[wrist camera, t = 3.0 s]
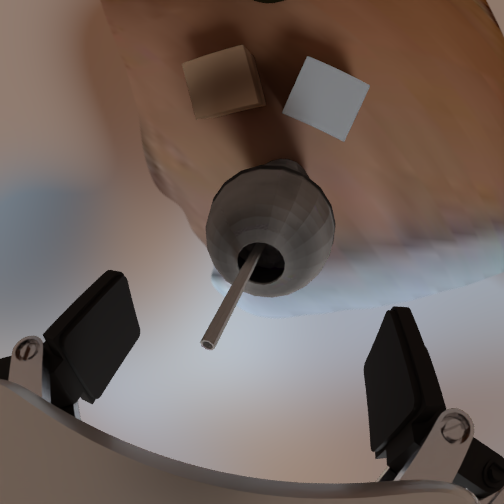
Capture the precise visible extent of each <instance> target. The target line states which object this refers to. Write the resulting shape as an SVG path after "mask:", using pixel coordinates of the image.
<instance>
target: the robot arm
mask: <svg viewBox="0 0 504 504" xmlns="http://www.w3.org/2000/svg"><path fill="white" fill-rule="evenodd" d="M43 336H44V338H45V340H46V341H45V342H44V343H43V342H42V340H41V339H40V338H39V337H37V336H28V337H25V338H23V339H21V340H20V341H19V342H18V343H17V344H16V345H15V347H14V348H13V351H12V356H9V357H5V358H2V359H0V504H504V458H503V457H502V456H500V455H499V454H497V453H496V452H495V451H493V450H491V449H490V448H489V447H487V446H486V445H484V444H482V443H481V442H480V441H478V440H477V439H475V438H474V437H473V435H474V424H473V422H472V419H471V418H470V416H469V415H468V414H467V413H465V412H464V411H463V410H460V409H456V408H451V409H447V410H446V406H445V403H444V400H443V396H442V392H441V389H440V386H439V383H438V379H437V376H436V373H435V370H434V367H433V364H432V361H431V359H430V356H429V353H428V350H427V348H426V347H425V345H424V343H423V340H422V337H421V335H420V332H419V330H418V327H417V324H416V322H415V320H414V317H413V315H412V313H411V310H410V308H407V307H393V308H392V309H391V310H388V311H387V312H386V314H385V317H384V319H383V322H382V324H381V327H380V329H379V332H378V334H377V337H376V339H375V341H374V344H373V346H372V348H371V351H370V353H369V355H368V357H367V360H366V362H365V365H364V378H365V386H366V395H367V405H368V416H369V428H370V444H371V450H372V451H373V452H375V456H376V457H375V458H376V459H380V458H387V466H388V467H387V468H386V469H385V470H384V472H383V473H382V474H381V476H380V477H379V478H378V479H377V480H376V481H375V482H370V483H350V484H324V483H323V484H322V483H321V484H320V483H318V484H317V483H297V482H284V481H274V480H266V479H258V478H252V477H245V476H239V475H234V474H229V473H224V472H219V471H215V470H210V469H206V468H202V467H198V466H195V465H191V464H187V463H184V462H180V461H177V460H174V459H170V458H167V457H164V456H162V455H159V454H156V453H153V452H150V451H147V450H145V449H142V448H140V447H137V446H134V445H132V444H130V443H127V442H124V441H122V440H120V439H118V438H116V437H113V436H111V435H109V434H107V433H105V432H103V431H100V430H98V429H96V428H94V427H92V426H90V425H88V424H86V423H85V422H82V421H81V418H80V412H79V405H78V399H79V398H80V397H81V398H82V399H83V400H85V401H87V402H89V403H91V404H93V403H94V401H95V399H98V398H99V397H100V396H101V395H102V393H103V392H104V390H105V389H106V387H107V385H108V384H109V382H110V380H111V379H112V377H113V376H114V374H115V373H116V371H117V370H118V368H119V367H120V365H121V364H122V362H123V361H124V359H125V357H126V356H127V354H128V353H129V351H130V350H131V348H132V347H133V345H134V344H135V342H136V341H137V340H138V338H139V336H140V327H139V324H138V320H137V317H136V313H135V309H134V305H133V302H132V298H131V294H130V289H129V285H128V281H127V278H126V277H125V276H124V274H123V273H122V272H118V271H113V270H108V271H106V272H105V273H104V274H103V275H102V276H101V277H100V278H98V280H96V281H95V282H94V283H93V284H92V285H91V286H90V287H89V288H88V289H87V290H86V291H85V292H84V293H83V294H82V295H81V296H80V297H79V298H78V299H77V300H76V301H75V302H74V303H73V304H72V305H71V306H70V307H69V308H68V309H67V310H66V311H65V312H64V313H63V314H62V315H61V316H60V317H59V318H58V319H57V320H56V321H55V322H54V323H53V324H52V325H51V326H50V327H49V328H48V329H47V331H46V332H45V333H44V334H43Z"/></svg>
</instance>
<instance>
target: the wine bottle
mask: <svg viewBox="0 0 504 504" xmlns="http://www.w3.org/2000/svg"><path fill="white" fill-rule="evenodd" d="M254 1H257V2H262V3H275V2H280V1H284V0H254Z"/></svg>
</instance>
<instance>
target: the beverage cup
mask: <svg viewBox="0 0 504 504" xmlns="http://www.w3.org/2000/svg"><path fill="white" fill-rule="evenodd" d="M334 232H335V219H334V215H333V210H332V206H331V204H330V202H329V200H328V199H327V197H326V196H325V194H324V192H323V191H322V189H321V188H320V187H319V186H318V185H317V184H316V183H314V182H313V181H312V180H311V179H310V178H309V176H308V175H307V173H306V172H305V170H304V169H303V168H302V167H301V166H300V165H299V164H298V163H296V162H295V161H292V160H289V159H278V160H274V161H270V162H269V163H267V164H265V165H260V166H256V167H253V168H249V169H246V170H242V171H240V172H239V173H237V174H236V175H234V176H233V177H232V178H230V179H229V180H227V181H226V182H225V183H224V184H223V185H222V187H221V188H220V190H219V191H218V193H217V194H216V195H215V197H214V199H213V202H212V205H211V209H210V213H209V216H208V220H207V224H206V239H207V249H208V252H209V254H210V257H211V259H212V261H213V264H214V266H215V268H216V269H217V270H218V272H219V273H220V274H221V275H222V276H223V278H224V279H225V280H226V281H227V282H229V283H230V284H232V286H231V288H230V289H229V291H228V293H227V295H226V297H225V298H224V300H223V302H222V304H221V306H220V307H219V309H218V311H217V313H216V315H215V317H214V318H213V320H212V322H211V324H210V325H209V327H208V329H207V331H206V333H205V335H204V336H203V338H202V340H201V346H202V347H204V348H205V349H207V350H213V349H214V348H215V346H216V344H217V342H218V340H219V338H220V336H221V334H222V332H223V330H224V328H225V326H226V324H227V322H228V320H229V318H230V316H231V314H232V312H233V310H234V308H235V306H236V304H237V302H238V300H239V298H240V296H241V294H242V292H246V293H249V294H252V295H254V296H262V297H278V296H284V295H288V294H291V293H293V292H295V291H297V290H299V289H301V288H303V287H305V286H306V285H307V284H308V283H310V282H311V281H312V280H313V279H314V278H315V277H316V276H317V275H318V274H319V273H320V271H321V270H322V268H323V266H324V264H325V263H326V261H327V259H328V257H329V255H330V252H331V247H332V244H333V240H334Z"/></svg>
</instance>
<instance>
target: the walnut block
mask: <svg viewBox="0 0 504 504" xmlns="http://www.w3.org/2000/svg"><path fill="white" fill-rule="evenodd" d="M182 66H183V71H184V75H185V79H186V83H187V87H188V91H189V95H190V98H191V102H192V106H193V110H194V114H195V118H196V119H207V118H216V117H220V116H224V115H228V114H231V113H235V112H239V111H244V110H248V109H252V108H257V107H262V106H266V102H265V98H264V94H263V90H262V86H261V82H260V78H259V74H258V70H257V66H256V62H255V59H254V56H253V55H252V54H251V53H250V52H249V51H248V50H247V48H246V47H245V46H244V45H239V46H235V47H232V48H228V49H225V50H221V51H218V52H215V53H211V54H208V55H205V56H202V57H199V58H196V59H193V60H191V61H188V62H185V63H183V64H182Z"/></svg>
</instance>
